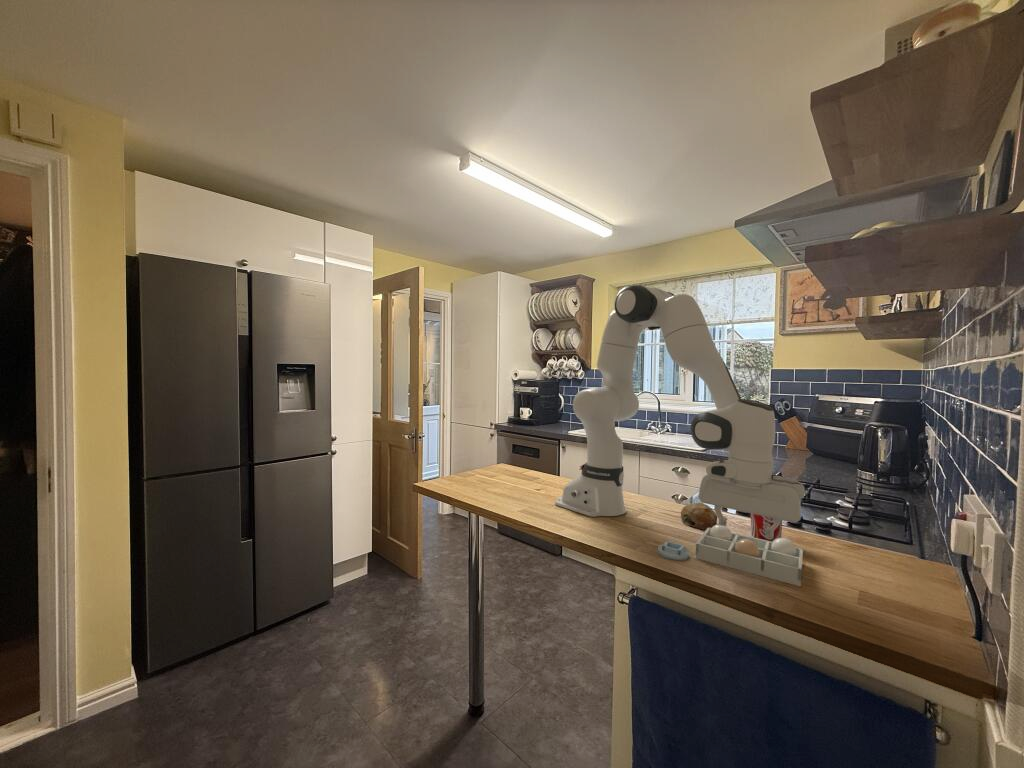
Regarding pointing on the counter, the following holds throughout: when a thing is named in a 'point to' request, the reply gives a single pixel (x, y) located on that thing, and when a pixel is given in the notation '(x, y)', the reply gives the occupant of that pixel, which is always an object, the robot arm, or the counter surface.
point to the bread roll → (698, 515)
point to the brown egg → (747, 548)
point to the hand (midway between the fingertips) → (745, 530)
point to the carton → (751, 558)
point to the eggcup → (673, 551)
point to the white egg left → (720, 532)
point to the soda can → (764, 527)
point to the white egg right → (783, 546)
